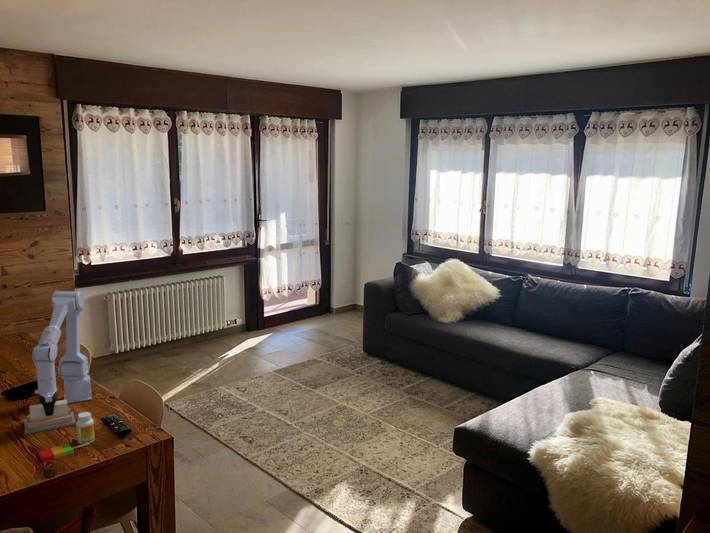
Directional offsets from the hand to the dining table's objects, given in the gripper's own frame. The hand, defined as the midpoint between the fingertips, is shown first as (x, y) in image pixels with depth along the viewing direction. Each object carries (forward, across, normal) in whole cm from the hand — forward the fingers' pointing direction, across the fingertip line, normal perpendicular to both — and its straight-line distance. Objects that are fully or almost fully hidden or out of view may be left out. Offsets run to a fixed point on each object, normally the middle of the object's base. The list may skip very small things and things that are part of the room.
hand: (49, 413), depth 210 cm
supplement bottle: (+4, +19, +10) cm, 22 cm away
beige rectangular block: (+2, 0, 0) cm, 2 cm away
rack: (+4, 0, 0) cm, 4 cm away
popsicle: (+5, +24, +3) cm, 24 cm away
